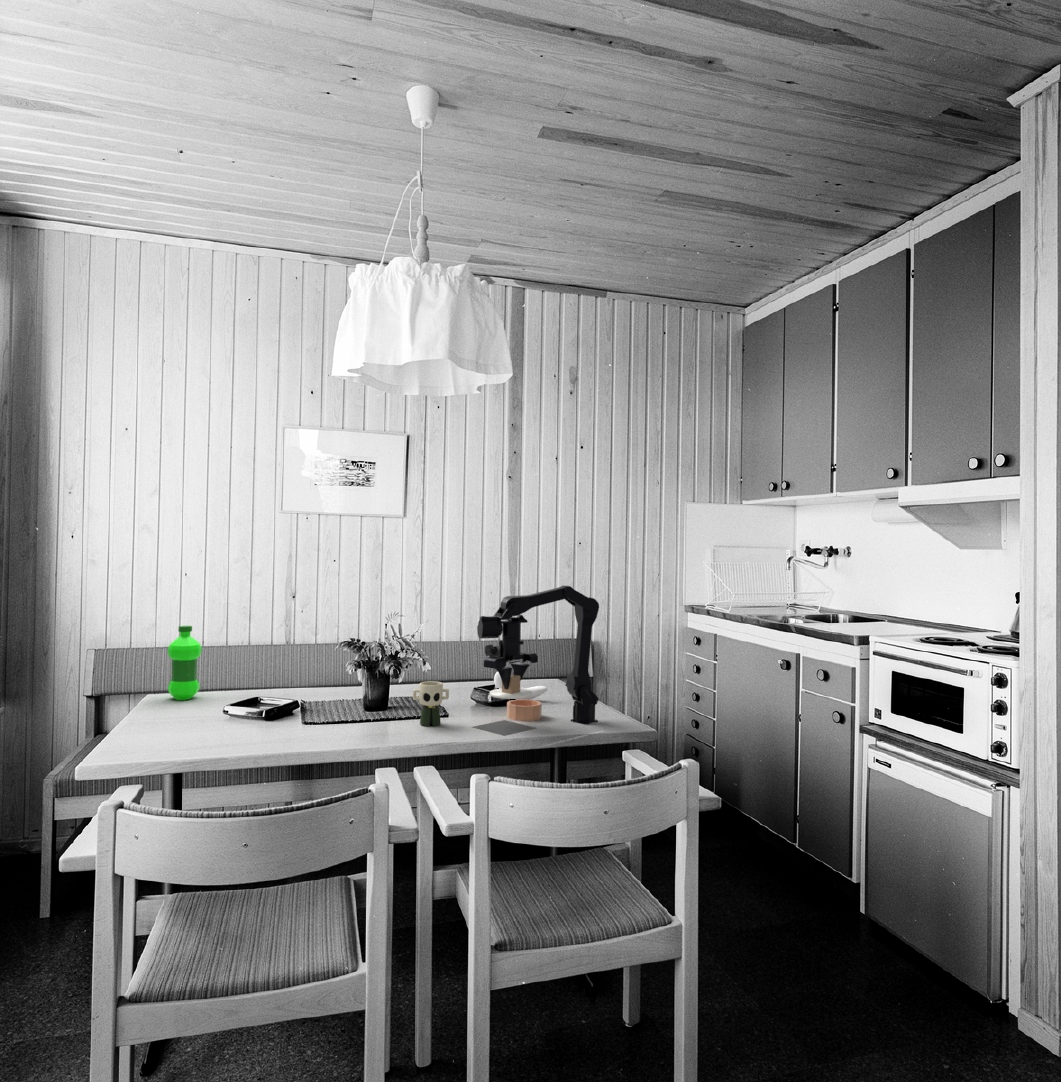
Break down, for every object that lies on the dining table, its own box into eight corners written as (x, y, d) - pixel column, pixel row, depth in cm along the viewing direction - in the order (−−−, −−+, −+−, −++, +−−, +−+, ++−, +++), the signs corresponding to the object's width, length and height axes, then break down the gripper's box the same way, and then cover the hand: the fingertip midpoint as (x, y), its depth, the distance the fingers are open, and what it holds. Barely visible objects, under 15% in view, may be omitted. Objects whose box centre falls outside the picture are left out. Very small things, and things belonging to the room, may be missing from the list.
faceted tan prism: (547, 718, 250) (548, 703, 250) (524, 723, 242) (525, 707, 242) (523, 713, 257) (523, 698, 257) (500, 718, 249) (500, 702, 249)
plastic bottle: (166, 696, 271) (168, 625, 271) (199, 694, 275) (201, 624, 275) (166, 702, 261) (168, 628, 262) (200, 700, 266) (202, 627, 266)
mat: (536, 729, 235) (536, 727, 235) (504, 737, 225) (504, 735, 225) (504, 721, 244) (504, 720, 244) (471, 728, 234) (471, 727, 234)
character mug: (413, 729, 232) (414, 685, 232) (411, 723, 239) (412, 681, 239) (449, 728, 234) (450, 685, 234) (446, 722, 241) (447, 680, 241)
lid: (540, 694, 239) (540, 675, 239) (511, 700, 229) (511, 681, 229) (510, 689, 247) (510, 670, 247) (481, 694, 238) (481, 675, 238)
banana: (547, 702, 276) (548, 661, 276) (493, 702, 274) (494, 660, 274) (545, 699, 281) (546, 659, 281) (493, 699, 279) (494, 658, 279)
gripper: (513, 632, 251) (512, 680, 251) (471, 637, 237) (470, 688, 237) (539, 635, 243) (538, 685, 243) (497, 641, 229) (496, 694, 229)
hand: (511, 688), depth 238 cm, fingers closed on lid, 4 cm apart
